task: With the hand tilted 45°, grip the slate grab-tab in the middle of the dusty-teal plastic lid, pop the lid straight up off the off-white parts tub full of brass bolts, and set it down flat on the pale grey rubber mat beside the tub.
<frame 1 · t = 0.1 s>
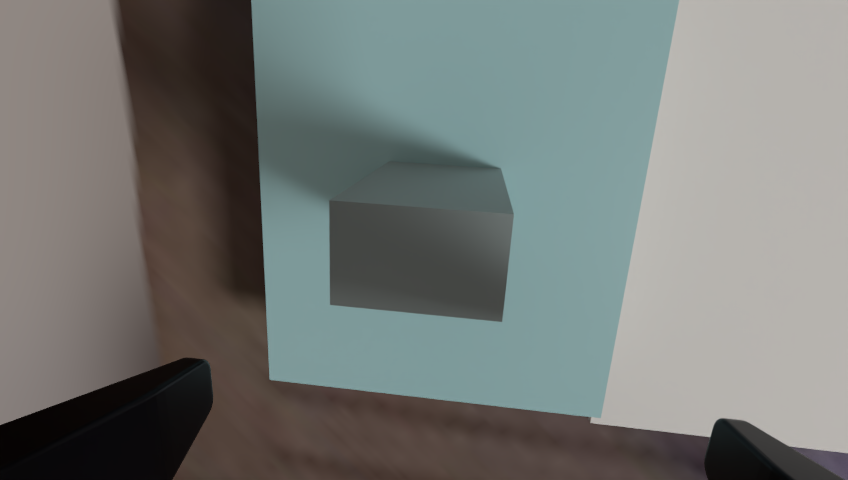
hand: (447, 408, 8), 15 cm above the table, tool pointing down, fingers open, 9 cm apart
teal lid: (444, 194, 18), point 4 cm above the table, touching parts tub
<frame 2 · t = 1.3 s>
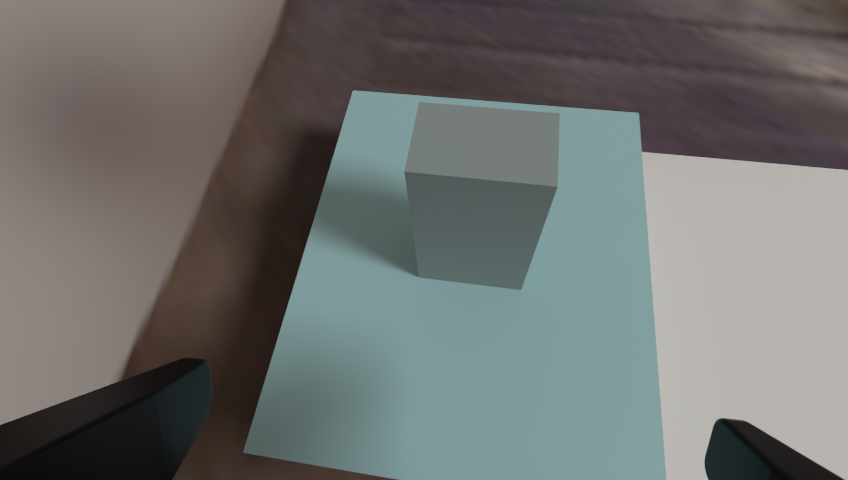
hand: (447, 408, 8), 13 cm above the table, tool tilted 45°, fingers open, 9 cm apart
teal lid: (471, 265, 20), point 4 cm above the table, touching parts tub
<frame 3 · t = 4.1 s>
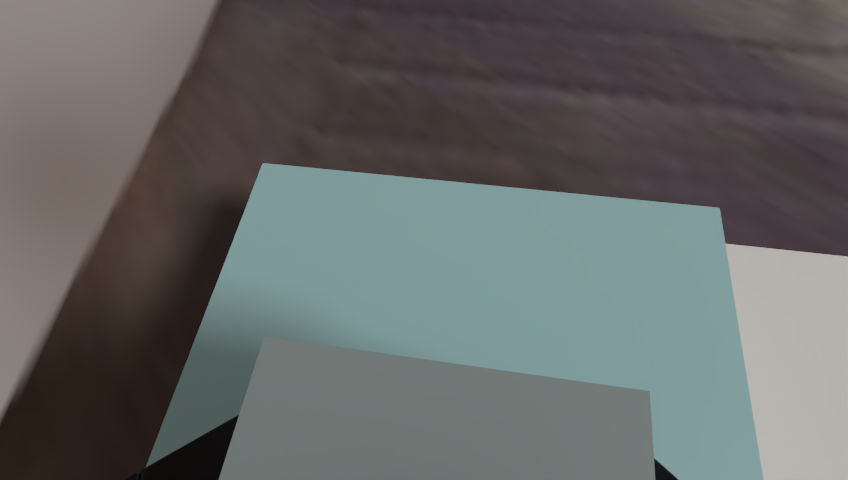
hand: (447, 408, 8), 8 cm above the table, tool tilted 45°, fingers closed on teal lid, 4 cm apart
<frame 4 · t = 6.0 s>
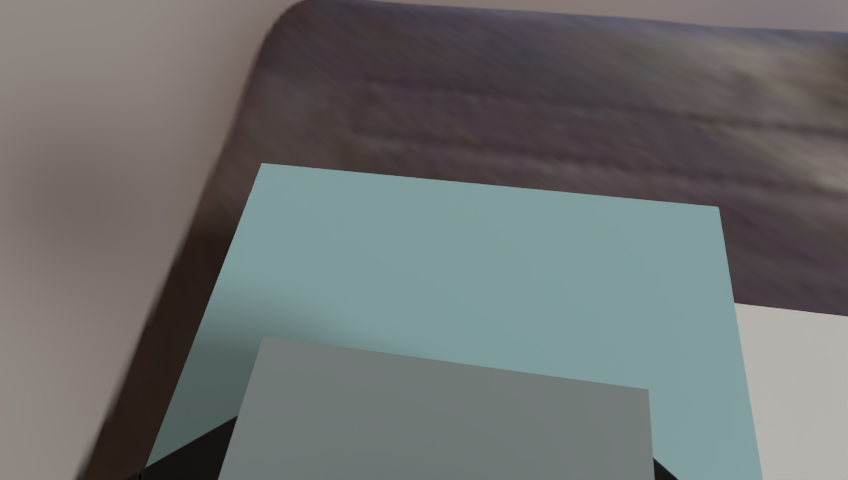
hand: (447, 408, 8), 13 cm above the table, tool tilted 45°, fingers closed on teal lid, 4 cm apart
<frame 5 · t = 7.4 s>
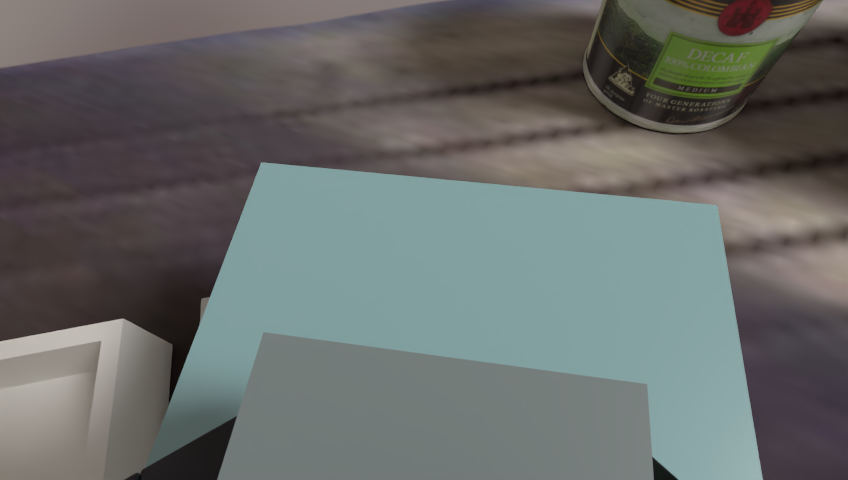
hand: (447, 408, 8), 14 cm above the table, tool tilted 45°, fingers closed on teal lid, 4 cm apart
coffee can: (662, 75, 31), on the table
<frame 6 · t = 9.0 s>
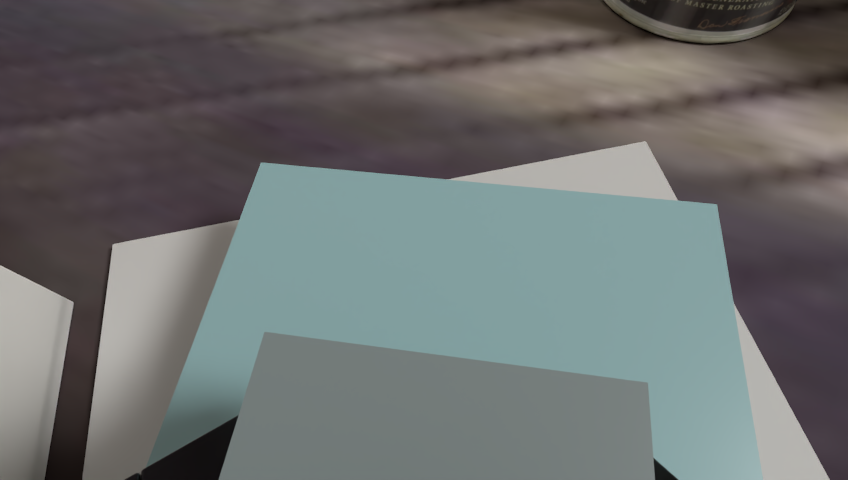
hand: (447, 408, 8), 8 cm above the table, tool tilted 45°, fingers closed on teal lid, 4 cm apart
when the fingers open (7 cm above the table, at t = 9.6 s): teal lid drops 2 cm, resting on grey mat.
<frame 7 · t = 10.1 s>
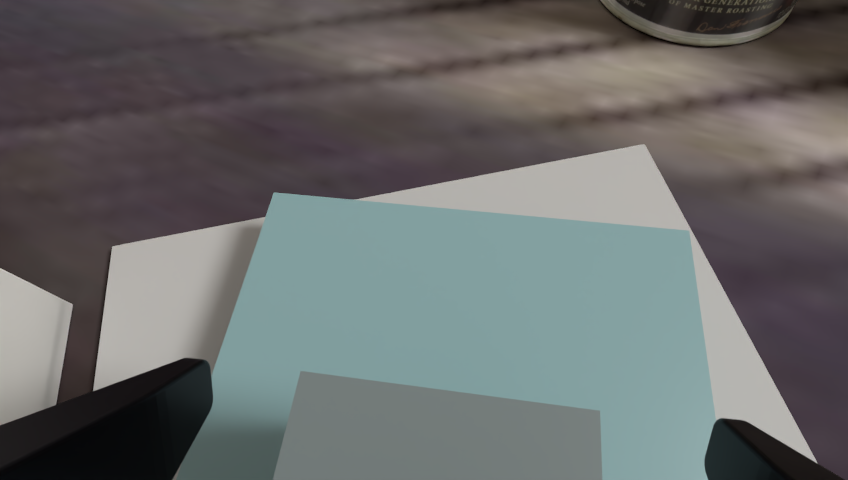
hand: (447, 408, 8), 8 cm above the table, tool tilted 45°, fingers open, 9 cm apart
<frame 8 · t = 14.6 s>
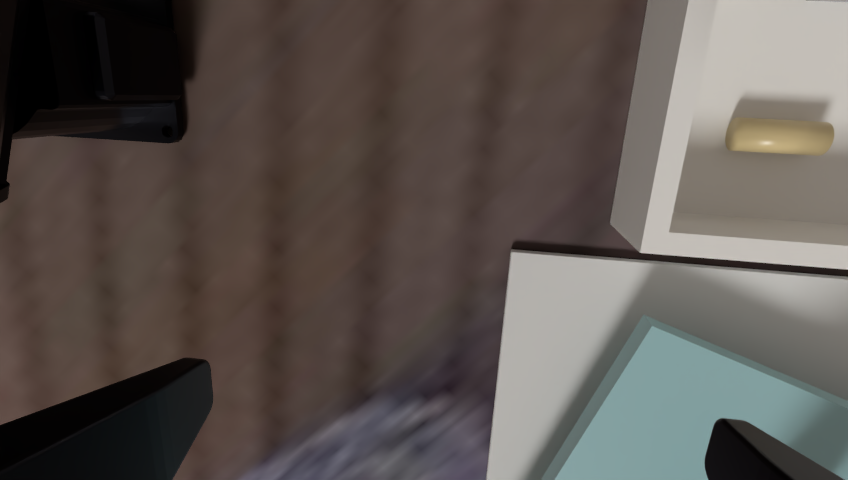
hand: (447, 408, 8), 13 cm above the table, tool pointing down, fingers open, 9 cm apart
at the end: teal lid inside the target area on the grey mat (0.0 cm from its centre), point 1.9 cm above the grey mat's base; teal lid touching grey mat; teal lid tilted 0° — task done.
